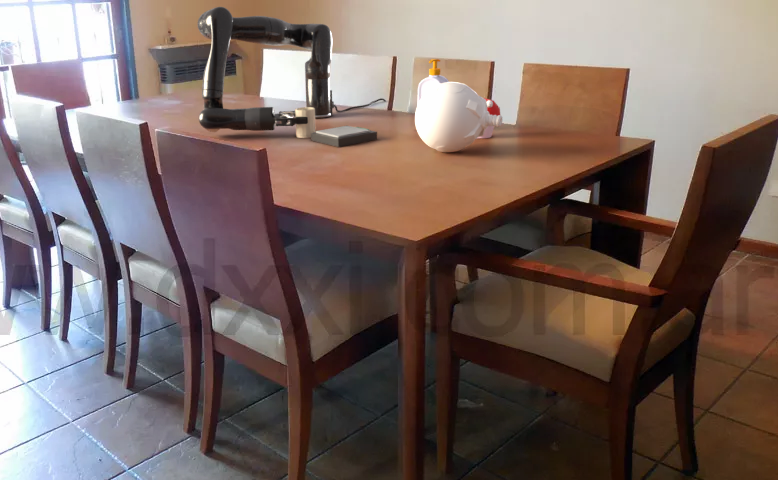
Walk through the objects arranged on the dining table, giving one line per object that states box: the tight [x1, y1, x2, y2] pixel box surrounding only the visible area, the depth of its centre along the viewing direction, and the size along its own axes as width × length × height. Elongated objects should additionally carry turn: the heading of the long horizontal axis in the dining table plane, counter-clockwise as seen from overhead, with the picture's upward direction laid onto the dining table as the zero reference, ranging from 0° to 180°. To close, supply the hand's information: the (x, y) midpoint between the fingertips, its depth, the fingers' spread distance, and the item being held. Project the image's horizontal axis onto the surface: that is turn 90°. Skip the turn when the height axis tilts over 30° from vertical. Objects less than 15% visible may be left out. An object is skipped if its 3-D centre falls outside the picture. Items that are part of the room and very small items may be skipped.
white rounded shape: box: [414, 81, 503, 153], centre depth 195 cm, size 20×25×20 cm
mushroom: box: [476, 97, 501, 139], centre depth 216 cm, size 11×11×12 cm
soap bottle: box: [416, 58, 450, 107], centre depth 225 cm, size 9×7×23 cm
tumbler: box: [294, 106, 317, 139], centre depth 226 cm, size 6×6×9 cm
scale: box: [310, 125, 378, 148], centre depth 219 cm, size 16×14×3 cm
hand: (308, 117), depth 225 cm, fingers open, 8 cm apart
